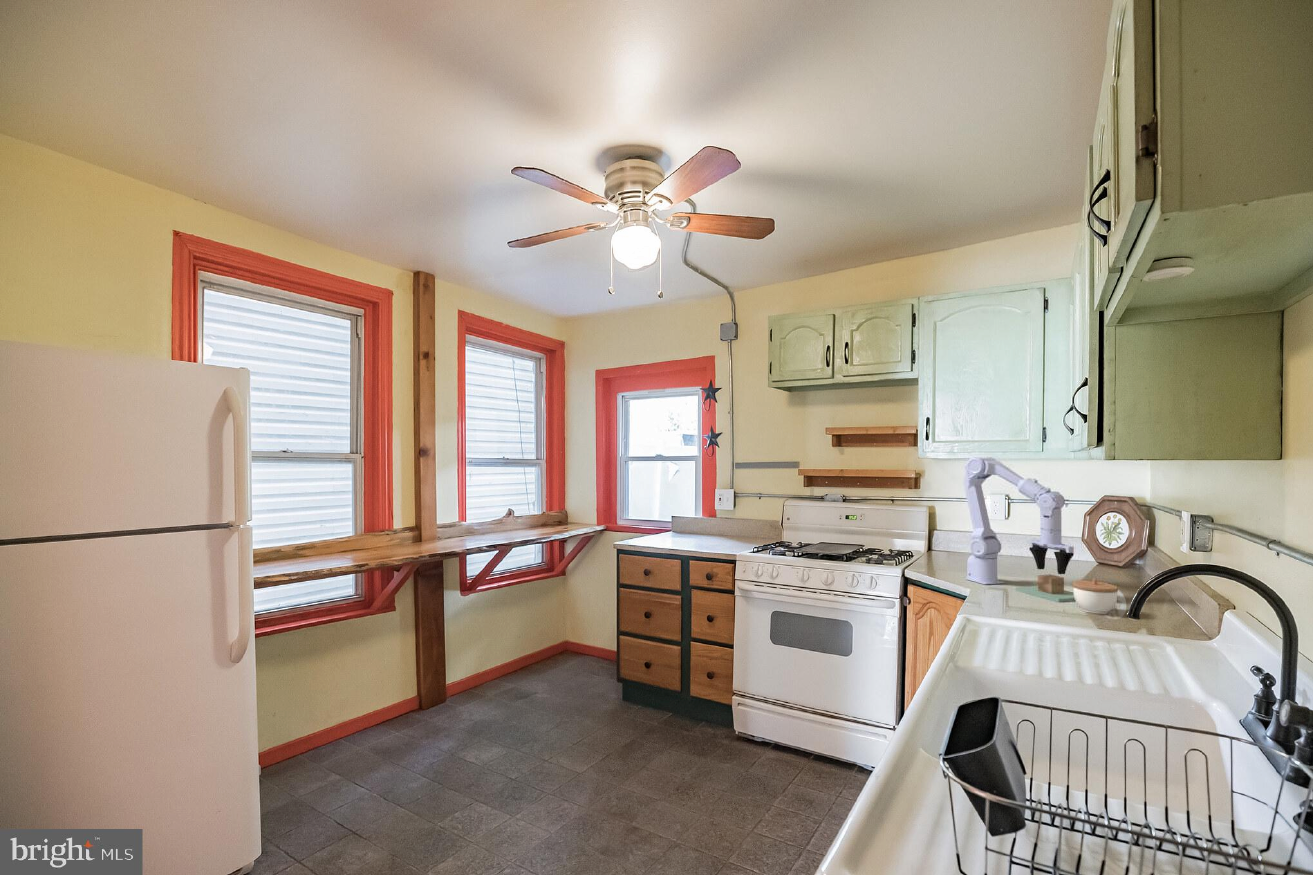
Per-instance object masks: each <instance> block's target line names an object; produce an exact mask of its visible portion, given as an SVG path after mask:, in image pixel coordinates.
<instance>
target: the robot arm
mask: <svg viewBox="0 0 1313 875" xmlns="http://www.w3.org/2000/svg"><path fill="white" fill-rule="evenodd" d="M964 469H965V473H964V476H963V486H964V491H965V494H966V495H965V496H966V500H967V505H968V506H967V507H968V510H969V515H970V519H971V523H972V524H971V525H972V529H973V531H972V532H971V534H970V536H969V538H970V542H969V543H970V544H969V550H970V552H971V553H972V555H970V556H969V557H968V559H967V562H966V565H967V567H966V569H967V570H966V571H967V575H966V577H965V580H968V581H972V582H974V583H978V584H982V585H997V584H998V585H999V584H1004V581H1001V580H999V579H998V555H999V553H1001V550H1002V543H1001V541H1000V540H999V539H998V537H997V533H996V532H995V531H994V530H993V529H992V528H991V523H990V519H989V513H988V510H987V504H986V502H985V501H986V500H985V497H984V496H985V495H984V492H983V486H982V485H983V484H984V482H985V481H986V480H987V479H988V478H990V477H992V476H997V477H999V478H1002V479H1003V480H1005V481H1007V482H1009V483H1011V484H1012V485H1014V486H1015V487H1016V488H1017V489H1018V490H1017V491H1018V492H1019V493H1020V494H1022V495H1024V496H1025V497H1026V498H1028V499H1030V500H1031V501H1033V502H1034V503H1036V506H1037V507H1038V509H1039V513H1040V530H1039V531H1040V532H1039V533H1040V539H1029V546H1031V547H1029V551H1030V553H1031V554H1032V556H1033V558H1034V561H1035V562H1034V563H1035V565H1036V569H1037V570H1045V568H1046V567H1045V566H1046V556H1047V553H1048V549H1050V550H1053V551H1054V552H1053V555H1054V556H1055V560H1056V567H1057V568H1056V571H1057V574H1058V575H1065V574H1066V571H1067V568H1068V565H1069V563H1070V561H1071V559H1072V558H1073V557H1074V554H1075V553H1074V551H1075V550H1074V548H1075V547H1074V546H1072V545H1069V544H1064V543H1062V508H1063V507H1064V506H1065V504H1066V499H1065V497H1064V495H1062V494H1061V493H1060V492H1059V491H1056V490H1055V491H1051V488H1050V487H1045V486H1043V484H1041V483H1039V482H1038V479H1036V478H1029V477H1028V478H1024V477H1022V476H1021V475H1019V474H1018V473H1016V472H1015V471H1014V470H1012V469H1011V468H1009V467H1007V466H1006V465H1005V464H1004V463H1002V462H1001V461H1000V460H996V459H995V458H993V457H991V456H990V457H989V456H987V457H971V458H970V459H969V460H968V461H967V462H966V463H965V465H964Z"/></svg>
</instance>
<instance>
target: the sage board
mask: <svg viewBox="0 0 1313 875" xmlns="http://www.w3.org/2000/svg"><path fill="white" fill-rule="evenodd" d="M1015 591H1017V592H1020V593H1024V594H1028V595H1031V596H1035V597H1039V598H1042V599H1046V600H1049V601H1053V602H1056V603H1064V602H1065V603H1067V602H1076V601H1075V598H1074V594H1073V592H1072V591H1068V590H1065V589H1064V593H1060V594H1049V593H1045V592H1041V591H1038V585H1032V586H1017V587H1015Z"/></svg>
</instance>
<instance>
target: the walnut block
mask: <svg viewBox="0 0 1313 875" xmlns="http://www.w3.org/2000/svg"><path fill="white" fill-rule="evenodd" d="M1064 579H1065V578H1064V577H1063V576H1058V575H1055V574H1049V573H1048V574H1038V575H1037V586H1038V591H1041V592H1045V593H1049V594H1060V593H1064V590H1065V580H1064Z"/></svg>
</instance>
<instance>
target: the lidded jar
mask: <svg viewBox="0 0 1313 875" xmlns="http://www.w3.org/2000/svg"><path fill="white" fill-rule="evenodd" d="M1118 590H1119V587H1118V586H1116V585H1115V584H1112V583H1111V584H1110V583H1107V582H1101V581H1098V579H1097V578H1092V580H1091V581H1090V580H1075V581H1073V582H1072V591H1073V594H1074V598H1075V601H1074V602H1076V604H1077V605H1078V606H1079V608H1081V609H1082V611H1083V612H1086V613H1088V614H1097V615H1108V614H1109V613H1110V612H1111V611H1112V610H1113V609H1114V608H1115V606H1116V605H1117V602H1118Z"/></svg>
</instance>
